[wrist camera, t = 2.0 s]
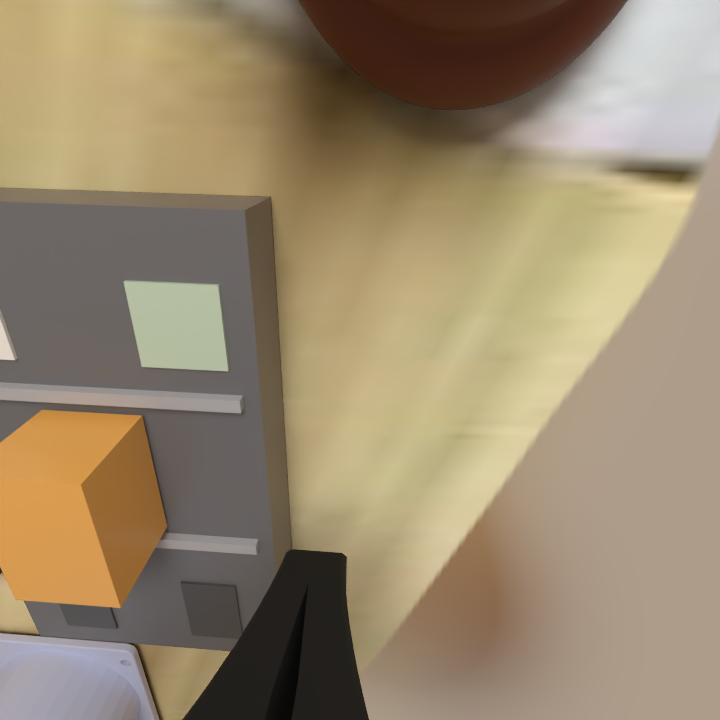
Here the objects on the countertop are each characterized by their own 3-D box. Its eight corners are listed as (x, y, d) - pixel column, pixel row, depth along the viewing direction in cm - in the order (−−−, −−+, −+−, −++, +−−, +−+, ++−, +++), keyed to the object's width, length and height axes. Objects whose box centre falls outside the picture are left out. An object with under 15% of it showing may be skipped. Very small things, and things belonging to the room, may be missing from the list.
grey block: (294, 598, 20) (281, 663, 18) (78, 581, 21) (35, 643, 18) (270, 196, 13) (240, 212, 10) (-71, 185, 13) (-179, 197, 11)
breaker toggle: (167, 526, 15) (120, 607, 13) (79, 520, 15) (16, 599, 13) (142, 415, 13) (80, 484, 11) (42, 409, 13) (-44, 476, 11)
